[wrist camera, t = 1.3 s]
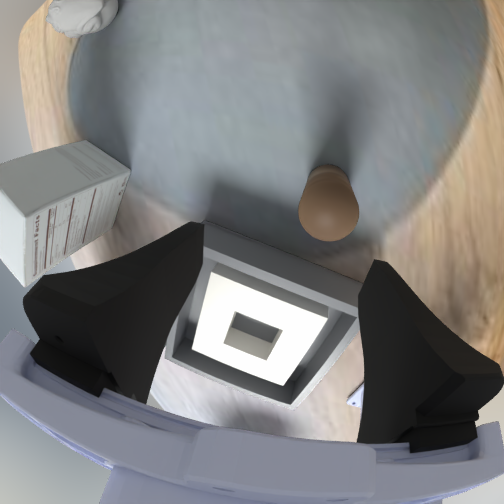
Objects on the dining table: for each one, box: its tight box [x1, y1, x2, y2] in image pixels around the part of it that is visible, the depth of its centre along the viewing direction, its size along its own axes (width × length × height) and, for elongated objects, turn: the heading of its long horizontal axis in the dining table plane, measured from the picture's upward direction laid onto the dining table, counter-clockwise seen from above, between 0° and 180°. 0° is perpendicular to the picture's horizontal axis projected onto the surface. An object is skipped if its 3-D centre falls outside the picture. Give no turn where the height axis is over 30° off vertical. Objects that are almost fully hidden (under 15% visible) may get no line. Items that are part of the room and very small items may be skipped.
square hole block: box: [165, 220, 363, 410], centre depth 25 cm, size 15×15×4 cm
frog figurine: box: [46, 0, 118, 38], centre depth 14 cm, size 6×7×7 cm
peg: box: [298, 164, 359, 241], centre depth 17 cm, size 3×3×7 cm
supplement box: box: [0, 140, 131, 287], centre depth 20 cm, size 7×7×13 cm
